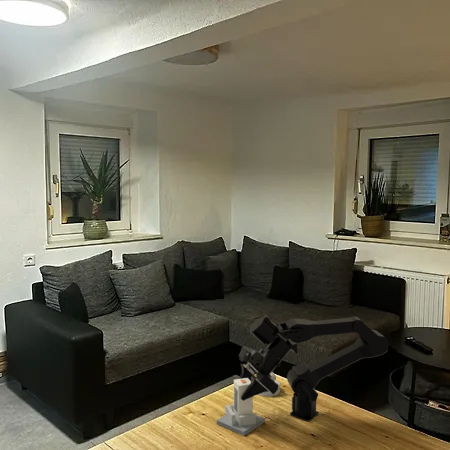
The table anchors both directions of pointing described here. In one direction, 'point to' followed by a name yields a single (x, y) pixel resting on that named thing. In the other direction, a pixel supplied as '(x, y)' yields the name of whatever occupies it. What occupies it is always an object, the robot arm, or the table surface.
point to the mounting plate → (240, 429)
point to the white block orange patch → (239, 404)
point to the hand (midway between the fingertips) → (238, 395)
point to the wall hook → (268, 390)
